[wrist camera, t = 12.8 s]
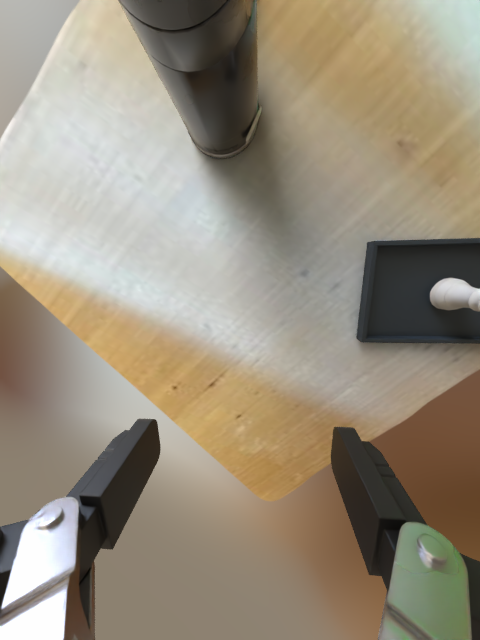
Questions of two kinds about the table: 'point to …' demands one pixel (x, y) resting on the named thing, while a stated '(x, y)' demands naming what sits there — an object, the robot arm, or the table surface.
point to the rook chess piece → (455, 295)
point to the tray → (417, 291)
